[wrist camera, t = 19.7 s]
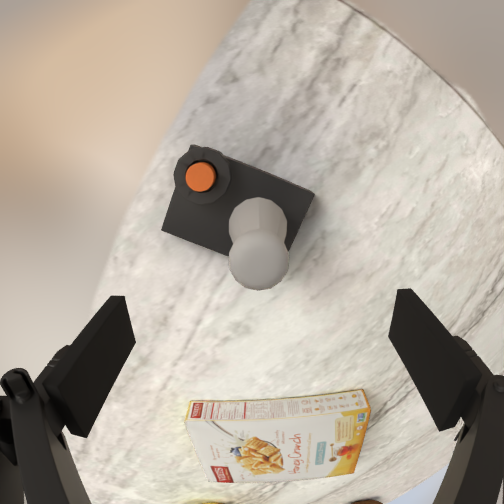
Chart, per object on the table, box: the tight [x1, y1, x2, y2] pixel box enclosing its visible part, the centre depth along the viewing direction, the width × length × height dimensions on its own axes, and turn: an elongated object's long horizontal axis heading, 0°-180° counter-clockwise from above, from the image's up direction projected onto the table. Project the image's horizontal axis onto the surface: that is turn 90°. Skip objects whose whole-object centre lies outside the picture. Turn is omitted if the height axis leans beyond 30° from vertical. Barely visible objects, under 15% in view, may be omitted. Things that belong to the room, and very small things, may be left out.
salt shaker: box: [229, 197, 289, 290], centre depth 27 cm, size 6×6×13 cm
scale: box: [161, 145, 315, 256], centre depth 33 cm, size 14×10×4 cm
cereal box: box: [184, 389, 371, 483], centre depth 45 cm, size 20×6×28 cm
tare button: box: [186, 162, 216, 192], centre depth 30 cm, size 3×3×2 cm
